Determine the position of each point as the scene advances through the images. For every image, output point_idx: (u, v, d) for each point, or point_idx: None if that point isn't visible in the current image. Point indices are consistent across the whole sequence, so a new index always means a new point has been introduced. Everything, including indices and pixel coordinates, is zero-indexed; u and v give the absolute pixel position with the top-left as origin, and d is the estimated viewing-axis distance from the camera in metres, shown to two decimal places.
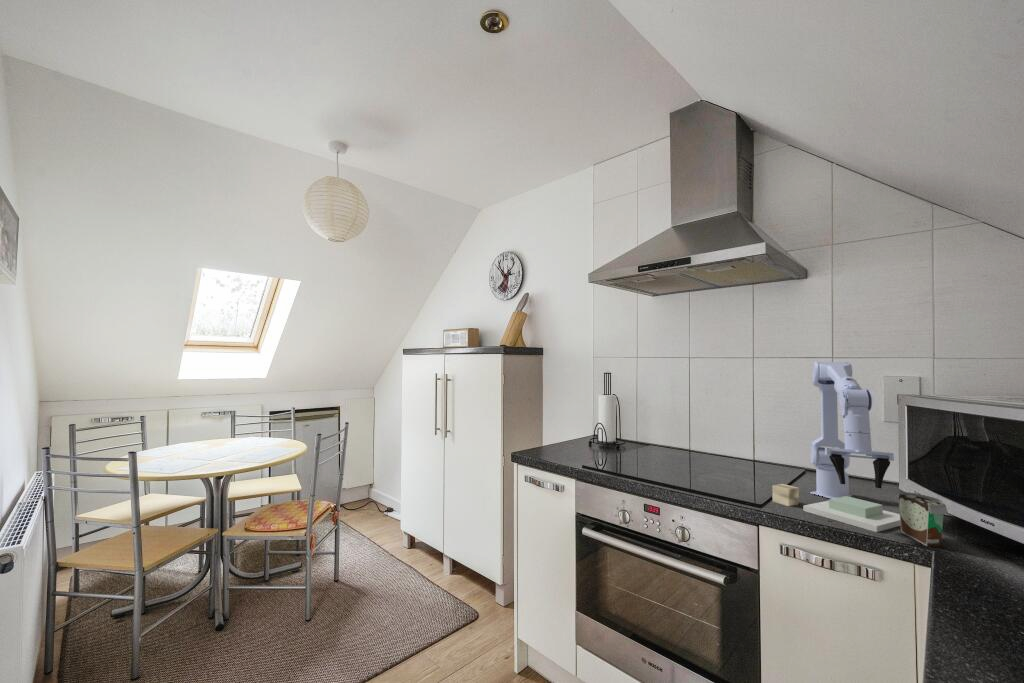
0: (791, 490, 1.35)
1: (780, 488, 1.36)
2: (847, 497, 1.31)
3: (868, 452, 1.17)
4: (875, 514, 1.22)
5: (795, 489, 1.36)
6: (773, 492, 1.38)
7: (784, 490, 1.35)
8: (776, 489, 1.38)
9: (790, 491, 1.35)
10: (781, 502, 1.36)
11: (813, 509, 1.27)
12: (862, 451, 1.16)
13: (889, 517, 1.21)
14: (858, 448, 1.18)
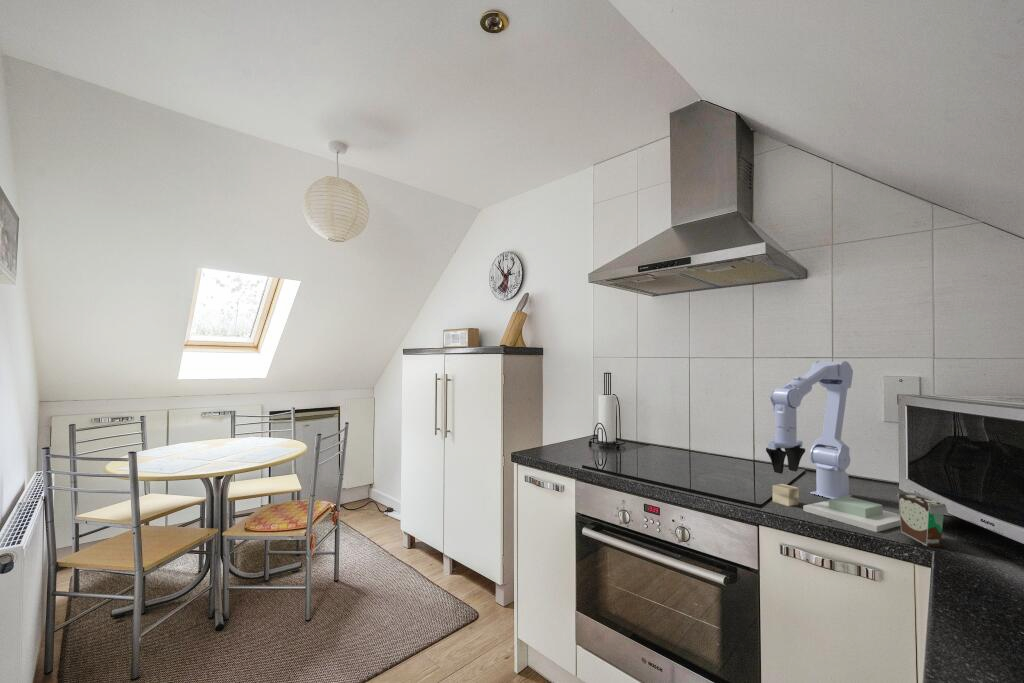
0: (791, 490, 1.35)
1: (780, 488, 1.36)
2: (847, 497, 1.31)
3: None
4: (875, 514, 1.22)
5: (795, 489, 1.36)
6: (773, 492, 1.38)
7: (784, 490, 1.35)
8: (776, 489, 1.38)
9: (790, 492, 1.35)
10: (781, 502, 1.36)
11: (813, 509, 1.27)
12: None
13: (889, 517, 1.21)
14: None
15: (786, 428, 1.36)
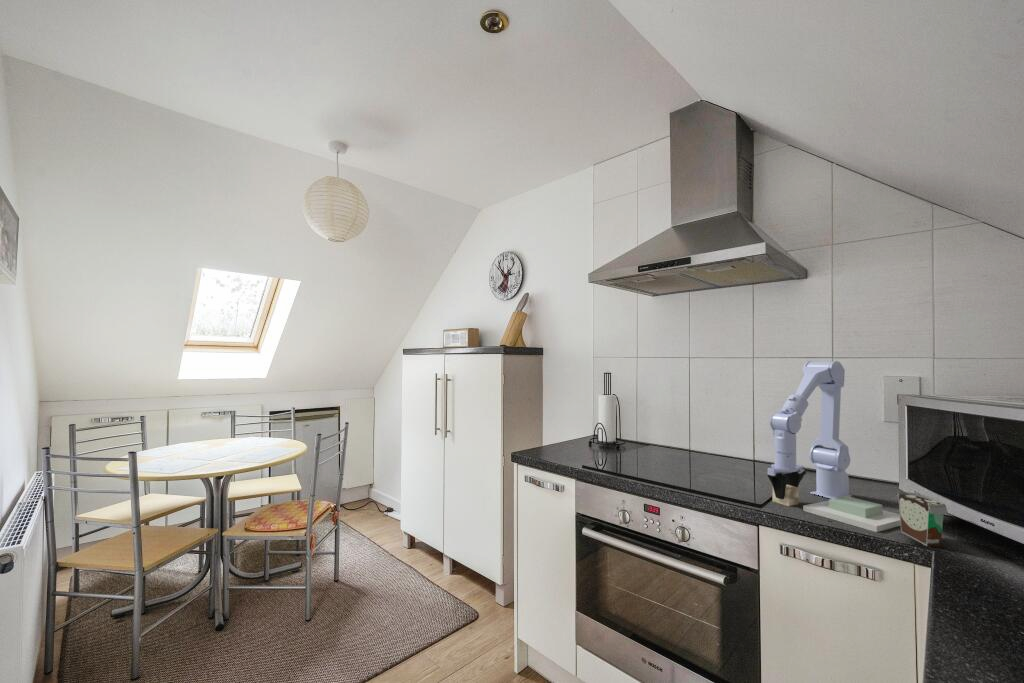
0: (791, 490, 1.35)
1: None
2: (847, 497, 1.31)
3: None
4: (875, 514, 1.22)
5: (795, 489, 1.36)
6: (773, 492, 1.38)
7: None
8: None
9: (790, 491, 1.35)
10: (781, 502, 1.36)
11: (813, 509, 1.27)
12: None
13: (889, 517, 1.21)
14: None
15: (786, 454, 1.36)
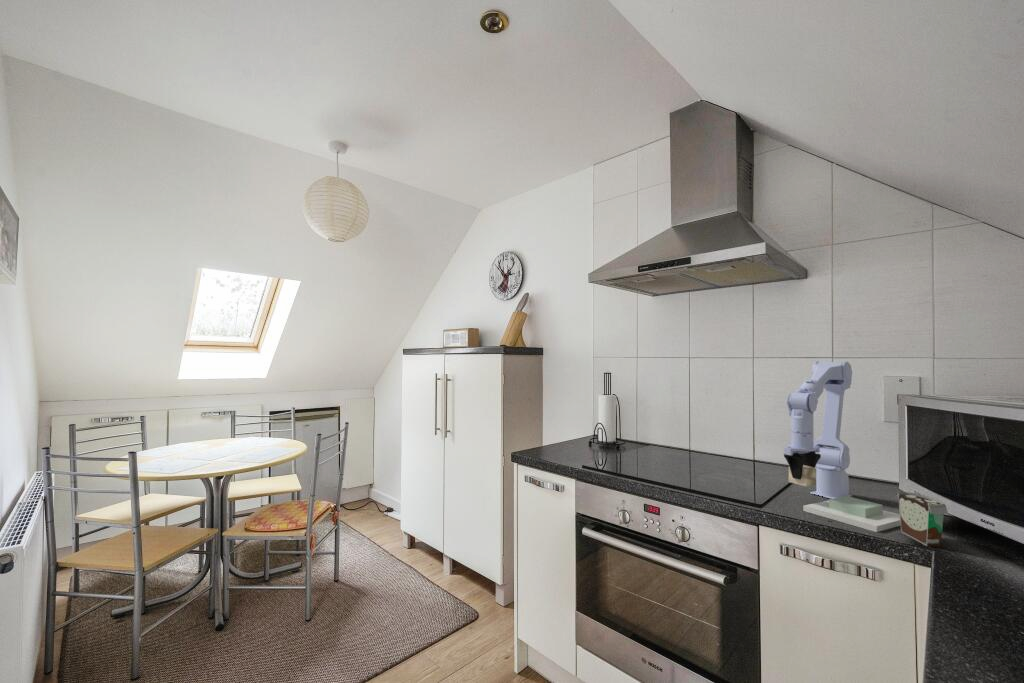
0: (808, 470, 1.32)
1: None
2: (847, 497, 1.31)
3: None
4: (875, 514, 1.22)
5: (812, 469, 1.33)
6: (789, 472, 1.36)
7: None
8: None
9: (807, 471, 1.32)
10: (798, 482, 1.33)
11: (813, 509, 1.27)
12: None
13: (889, 517, 1.21)
14: None
15: (803, 433, 1.33)
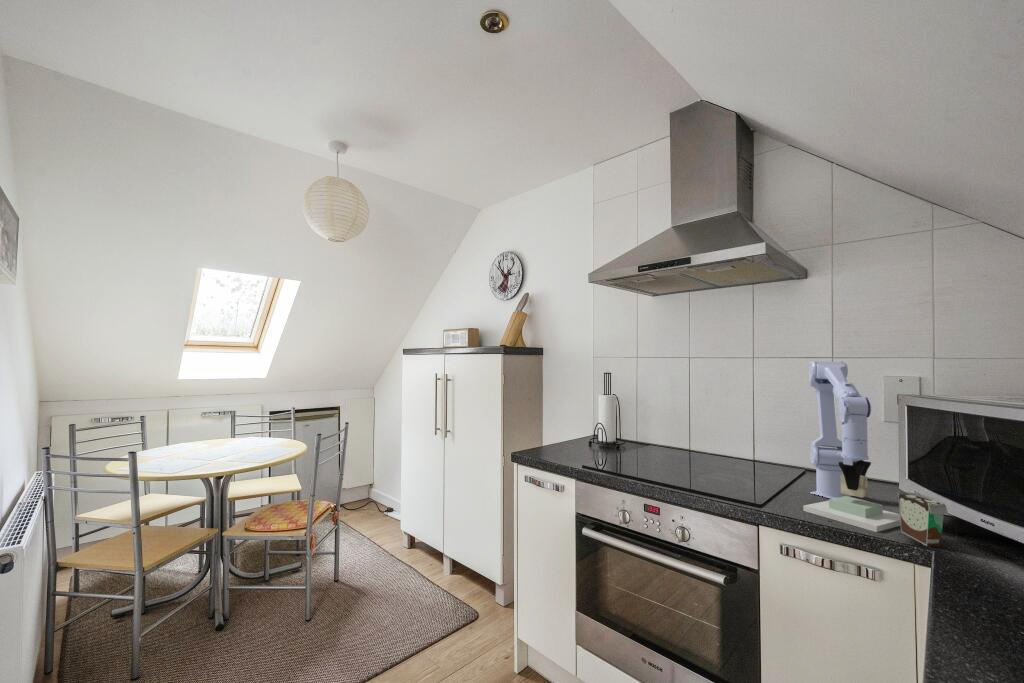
0: (863, 479, 1.24)
1: None
2: (847, 497, 1.31)
3: (841, 455, 1.28)
4: (875, 514, 1.22)
5: (865, 478, 1.25)
6: (842, 483, 1.27)
7: None
8: None
9: (863, 481, 1.24)
10: (852, 493, 1.25)
11: (813, 509, 1.27)
12: None
13: (889, 517, 1.21)
14: None
15: (859, 441, 1.24)
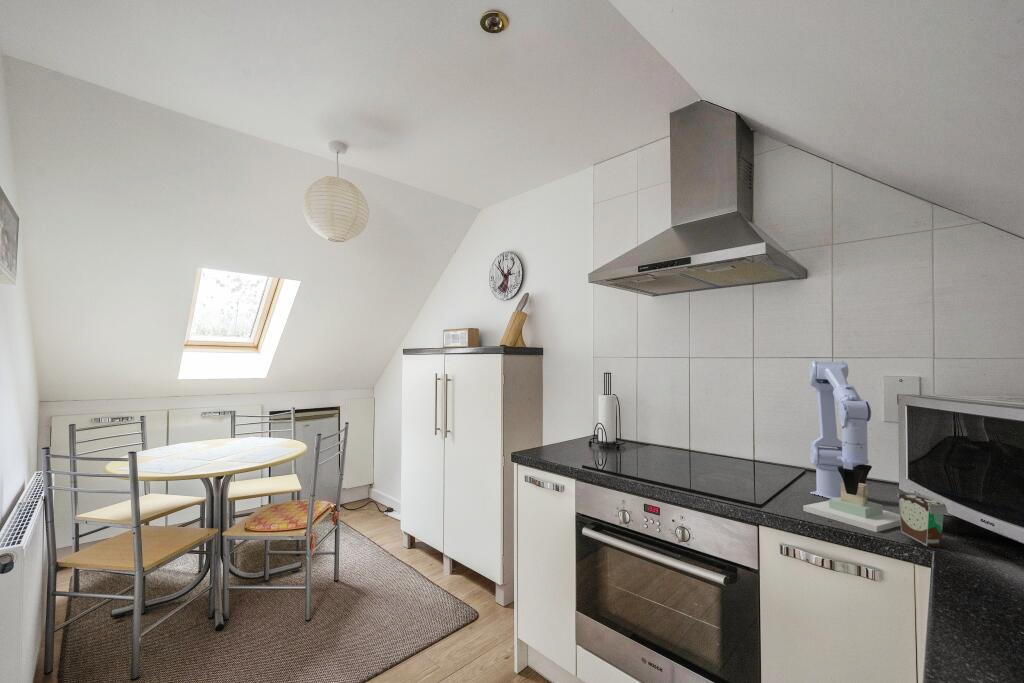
0: (863, 488, 1.24)
1: None
2: None
3: (841, 459, 1.28)
4: (875, 514, 1.22)
5: (865, 486, 1.25)
6: (842, 490, 1.26)
7: None
8: None
9: (863, 489, 1.24)
10: (853, 501, 1.24)
11: (813, 509, 1.27)
12: None
13: (889, 517, 1.21)
14: None
15: (859, 445, 1.24)
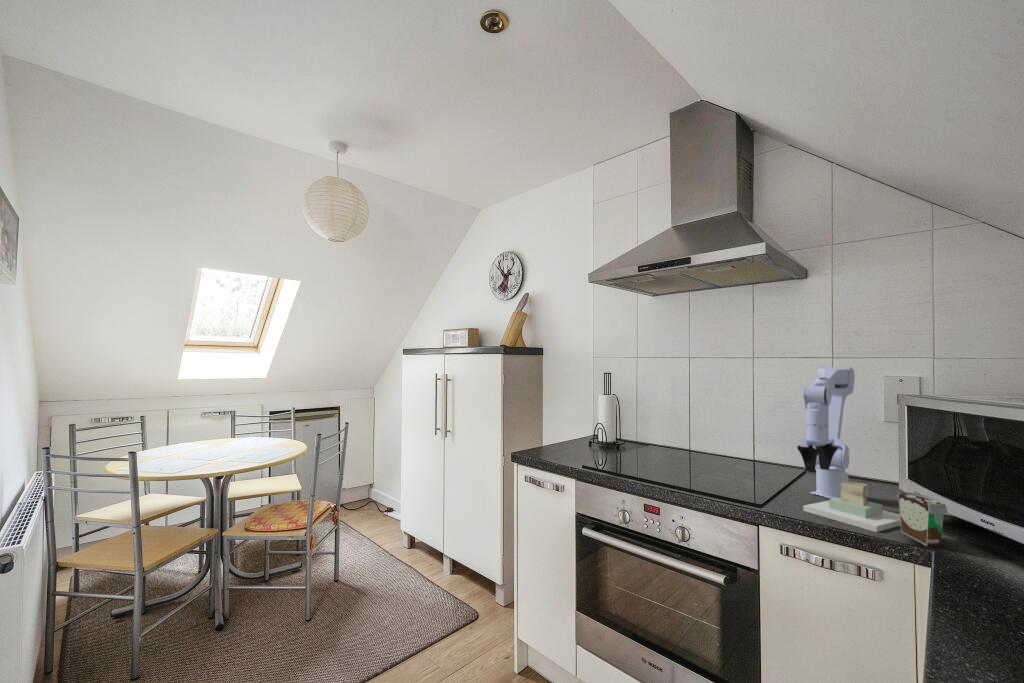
0: (863, 488, 1.24)
1: (851, 486, 1.25)
2: None
3: None
4: (875, 514, 1.22)
5: (865, 486, 1.25)
6: (842, 490, 1.26)
7: (857, 488, 1.24)
8: (846, 487, 1.26)
9: (863, 489, 1.24)
10: (853, 501, 1.24)
11: (813, 509, 1.27)
12: None
13: (889, 517, 1.21)
14: None
15: (818, 426, 1.35)
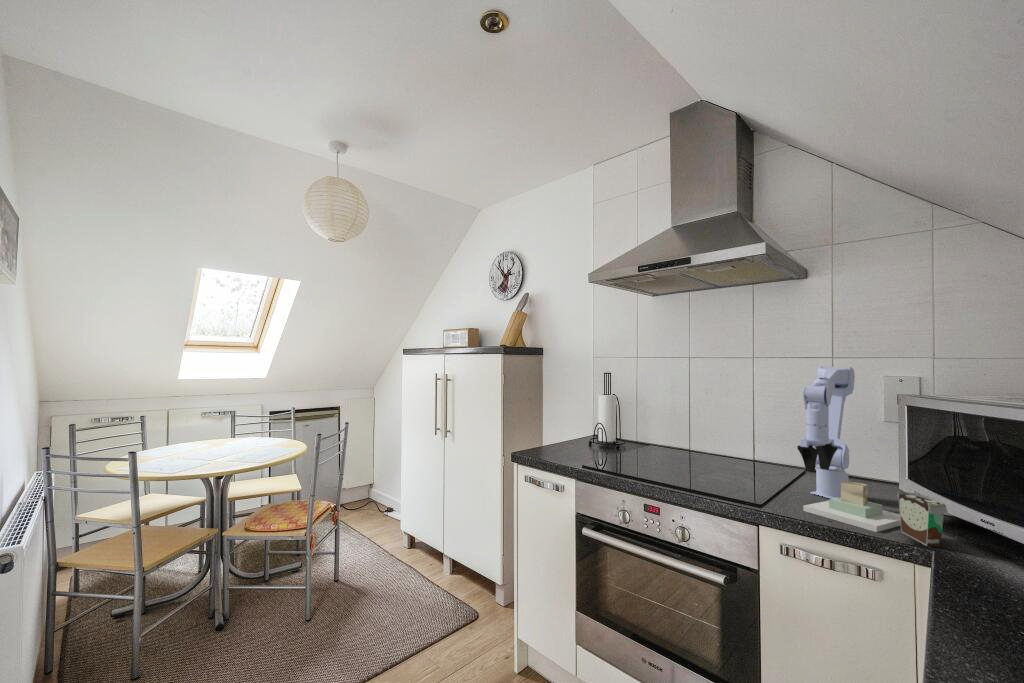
0: (863, 488, 1.24)
1: (851, 486, 1.25)
2: None
3: None
4: (875, 514, 1.22)
5: (865, 486, 1.25)
6: (842, 490, 1.26)
7: (857, 488, 1.24)
8: (846, 487, 1.26)
9: (863, 489, 1.24)
10: (853, 501, 1.24)
11: (813, 509, 1.27)
12: None
13: (889, 517, 1.21)
14: None
15: (818, 426, 1.35)
